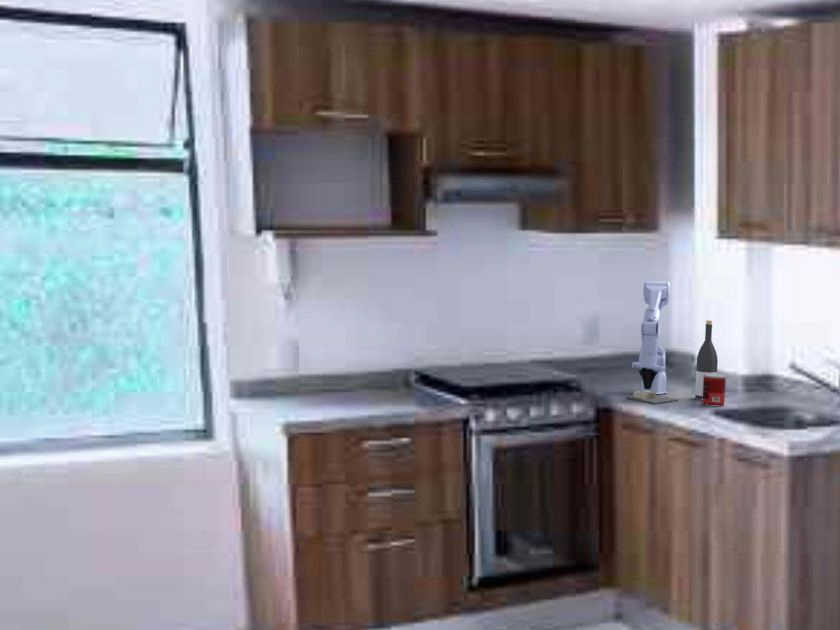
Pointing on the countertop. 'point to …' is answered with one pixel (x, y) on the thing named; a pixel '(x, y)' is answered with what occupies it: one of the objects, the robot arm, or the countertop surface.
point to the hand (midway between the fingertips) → (647, 388)
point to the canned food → (714, 389)
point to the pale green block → (644, 394)
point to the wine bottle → (705, 360)
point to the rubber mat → (654, 399)
